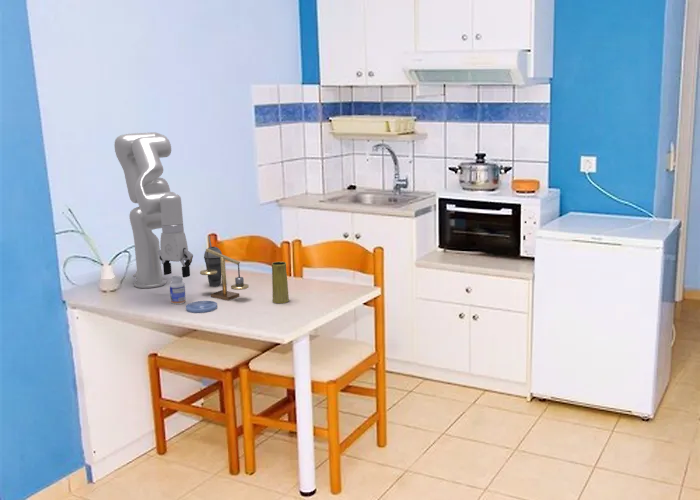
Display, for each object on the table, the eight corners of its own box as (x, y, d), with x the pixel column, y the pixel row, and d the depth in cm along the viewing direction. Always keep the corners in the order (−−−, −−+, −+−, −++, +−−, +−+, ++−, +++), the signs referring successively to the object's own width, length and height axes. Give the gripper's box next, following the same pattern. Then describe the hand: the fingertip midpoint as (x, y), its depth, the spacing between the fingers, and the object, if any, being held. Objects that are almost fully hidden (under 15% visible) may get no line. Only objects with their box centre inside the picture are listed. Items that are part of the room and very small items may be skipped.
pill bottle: (172, 300, 284) (170, 275, 281) (186, 299, 284) (184, 274, 282) (169, 304, 278) (167, 279, 276) (185, 304, 279) (183, 278, 277)
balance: (197, 294, 290) (194, 249, 286) (210, 290, 295) (207, 246, 292) (241, 303, 278) (238, 256, 274) (252, 298, 283) (250, 252, 279)
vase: (276, 304, 275) (274, 266, 272) (269, 300, 280) (267, 262, 277) (291, 302, 278) (290, 263, 275) (285, 298, 283) (283, 260, 280)
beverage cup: (220, 288, 299) (217, 237, 294) (202, 287, 300) (199, 237, 296) (227, 283, 306) (224, 233, 301) (209, 282, 307) (206, 233, 303)
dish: (179, 310, 272) (179, 306, 271) (201, 302, 281) (201, 298, 280) (201, 314, 266) (201, 311, 265) (223, 306, 274) (223, 303, 274)
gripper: (148, 229, 277) (152, 275, 280) (181, 232, 267) (186, 280, 270) (164, 225, 283) (168, 271, 286) (197, 228, 273) (201, 275, 276)
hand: (177, 275), depth 278 cm, fingers open, 9 cm apart
